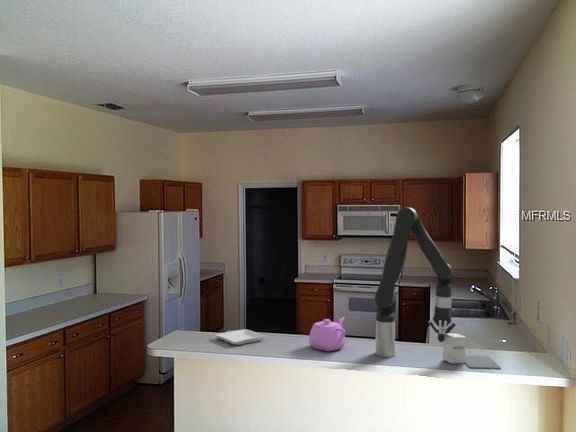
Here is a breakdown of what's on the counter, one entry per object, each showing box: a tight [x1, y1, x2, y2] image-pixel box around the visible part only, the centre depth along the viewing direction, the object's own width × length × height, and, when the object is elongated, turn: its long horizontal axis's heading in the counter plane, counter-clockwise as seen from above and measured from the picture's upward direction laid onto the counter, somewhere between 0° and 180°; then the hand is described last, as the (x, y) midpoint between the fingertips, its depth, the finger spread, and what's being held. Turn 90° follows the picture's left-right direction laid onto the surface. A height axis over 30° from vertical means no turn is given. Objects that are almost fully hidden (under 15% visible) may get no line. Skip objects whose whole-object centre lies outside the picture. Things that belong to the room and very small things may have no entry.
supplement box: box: [442, 333, 467, 364], centre depth 233 cm, size 7×7×13 cm
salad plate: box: [214, 328, 266, 346], centre depth 273 cm, size 21×21×3 cm
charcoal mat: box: [463, 354, 502, 370], centre depth 232 cm, size 14×18×1 cm
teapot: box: [308, 316, 347, 352], centre depth 258 cm, size 23×21×15 cm
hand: (441, 341), depth 233 cm, fingers closed
